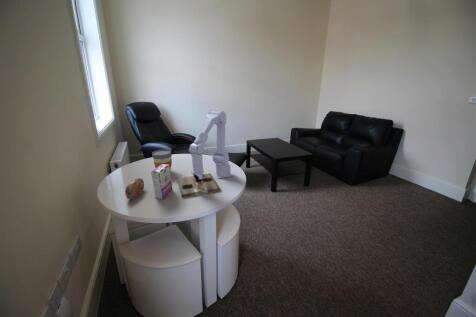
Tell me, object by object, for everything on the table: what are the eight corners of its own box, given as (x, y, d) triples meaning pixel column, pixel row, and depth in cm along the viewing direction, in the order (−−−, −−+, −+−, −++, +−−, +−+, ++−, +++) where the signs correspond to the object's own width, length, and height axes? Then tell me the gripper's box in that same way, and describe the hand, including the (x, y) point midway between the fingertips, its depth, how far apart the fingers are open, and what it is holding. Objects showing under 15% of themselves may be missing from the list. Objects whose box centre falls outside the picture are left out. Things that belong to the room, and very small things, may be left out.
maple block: (203, 187, 128) (202, 181, 127) (204, 190, 124) (204, 184, 123) (196, 188, 127) (195, 182, 125) (197, 191, 123) (197, 185, 122)
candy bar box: (165, 189, 130) (161, 163, 125) (172, 189, 129) (169, 164, 124) (154, 198, 120) (150, 171, 114) (163, 199, 119) (159, 172, 113)
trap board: (210, 176, 147) (210, 173, 147) (219, 190, 128) (219, 187, 127) (177, 181, 140) (177, 178, 139) (181, 197, 121) (181, 194, 120)
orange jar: (176, 169, 158) (174, 150, 153) (168, 176, 147) (165, 155, 141) (160, 168, 160) (157, 149, 155) (151, 175, 149) (148, 154, 144)
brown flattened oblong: (131, 202, 117) (128, 188, 114) (125, 201, 117) (123, 187, 114) (145, 188, 131) (143, 176, 128) (140, 188, 131) (138, 175, 128)
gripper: (188, 160, 129) (190, 181, 133) (192, 169, 116) (194, 192, 121) (200, 159, 131) (201, 179, 136) (205, 167, 118) (207, 189, 123)
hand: (199, 185), depth 128 cm, fingers closed
